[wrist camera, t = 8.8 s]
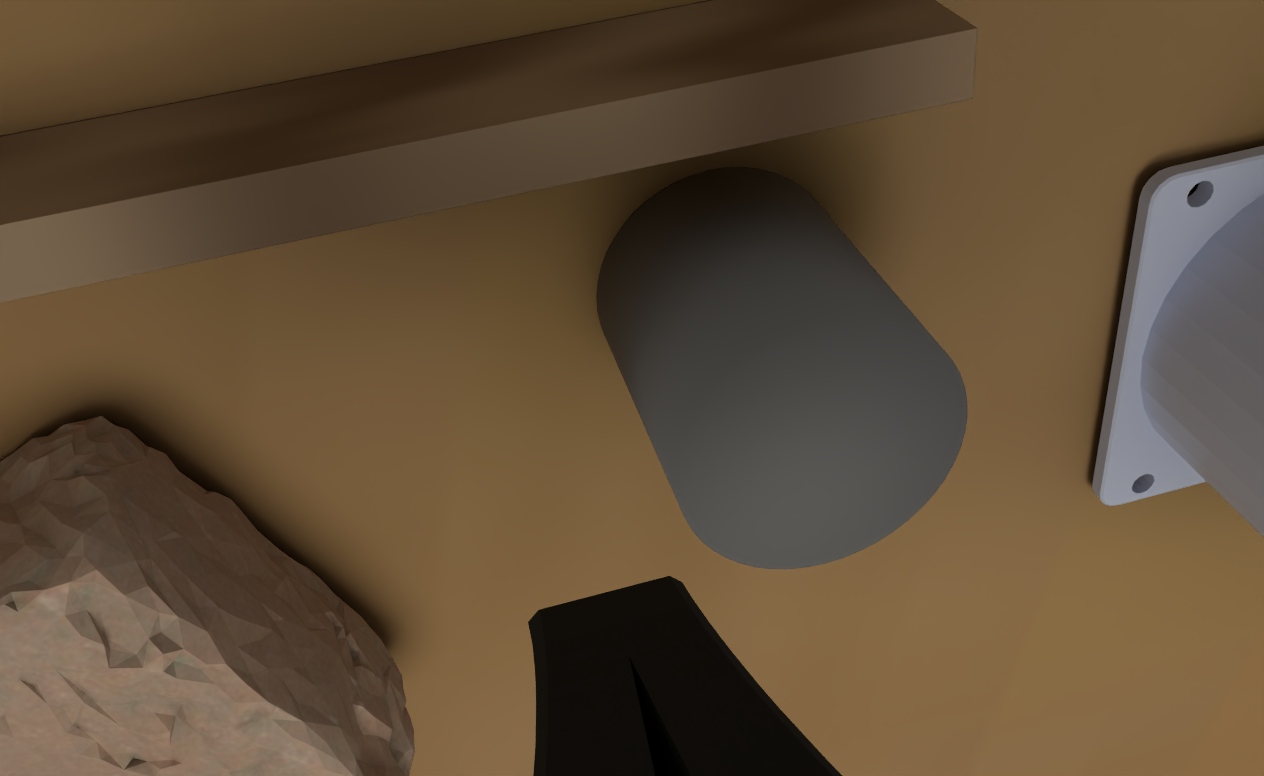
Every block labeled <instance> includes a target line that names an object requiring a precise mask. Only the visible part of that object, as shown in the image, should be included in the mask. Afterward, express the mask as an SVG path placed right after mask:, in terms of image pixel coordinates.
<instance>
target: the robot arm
mask: <svg viewBox="0 0 1264 776" xmlns="http://www.w3.org/2000/svg"><path fill="white" fill-rule="evenodd" d="M1198 183H1199V185H1198V188H1197V190H1196V191H1195V192H1194V193H1193V194H1192V195H1190V196H1188V194H1189V192H1190V190H1191V189H1192V188H1193V187H1194V186H1195V185H1196V184H1198ZM1187 196H1188V197H1187ZM1203 482H1207V483H1208V484H1209V485H1210V486H1211V487H1213V488H1214V489H1215V490H1216V491H1217V492H1218V493H1219V494H1220V495H1221V496H1222V497H1223V498H1224V499H1225V500H1226V501H1227V502H1228V503H1229V504H1230V505H1231V506H1232V507H1233V508H1234V509H1235V510H1236V511H1237V512H1238V513H1239V514H1240V515H1241V516H1242V517H1243V518H1244V519H1245V520H1246V521H1247V522H1248V523H1249V524H1250V525H1251V526H1252V527H1253V528H1254V529H1255V530H1256V531H1257V532H1258V533H1259V534H1261V535H1262V536H1263V537H1264V146H1260V147H1256V148H1251V149H1247V150H1242V151H1238V152H1233V153H1229V154H1224V155H1220V156H1216V157H1211V158H1207V159H1202V160H1198V161H1193V162H1189V163H1184V164H1180V165H1175V166H1171V167H1167V168H1165V169H1163V170H1160V171H1158V172H1157V173H1156V174H1154V175H1153V176H1152V177H1151V178H1150V179H1149V180H1148V181H1147V183H1146V184H1145V185H1144V187H1143V189H1142V192H1141V195H1140V197H1139V203H1138V210H1137V216H1136V222H1135V228H1134V234H1133V240H1132V246H1131V252H1130V258H1129V264H1128V270H1127V276H1126V283H1125V289H1124V295H1123V301H1122V307H1121V313H1120V319H1119V325H1118V331H1117V337H1116V343H1115V350H1114V356H1113V362H1112V368H1111V374H1110V380H1109V386H1108V392H1107V398H1106V404H1105V410H1104V417H1103V423H1102V429H1101V435H1100V441H1099V447H1098V453H1097V459H1096V465H1095V471H1094V477H1093V484H1092V487H1093V492H1094V493H1095V494H1096V495H1097V497H1098V498H1099V499H1100V500H1101V501H1102V502H1103V503H1104V504H1106V505H1109V506H1113V505H1120V504H1124V503H1128V502H1132V501H1135V500H1139V499H1143V498H1147V497H1150V496H1154V495H1158V494H1162V493H1165V492H1169V491H1173V490H1177V489H1180V488H1184V487H1188V486H1192V485H1195V484H1199V483H1203ZM528 623H529V629H530V634H531V639H532V644H533V653H534V664H535V677H536V747H535V762H534V775H533V776H842V775H841V774H840V773H839V772H838V771H837V770H836V769H835V768H834V767H833V766H832V765H831V764H830V763H829V762H828V761H827V760H826V759H825V757H824V756H823V755H822V754H821V753H820V752H819V751H818V750H817V749H816V748H815V747H814V746H813V744H812V743H811V742H810V741H809V740H808V739H807V738H806V737H805V736H804V735H803V734H802V732H801V731H800V730H799V729H798V728H797V727H796V726H795V725H794V724H793V723H792V722H791V721H790V719H789V718H788V717H787V716H786V715H785V714H784V713H783V712H782V711H781V710H780V709H779V707H778V706H777V705H776V704H775V703H774V702H773V701H772V699H771V698H770V697H769V696H768V695H767V694H766V693H765V691H764V690H763V689H762V688H761V687H760V686H759V684H758V683H757V682H756V681H755V680H754V678H753V677H752V676H751V675H750V673H749V672H748V671H747V670H746V669H745V667H744V666H743V665H742V664H741V663H740V661H739V660H738V659H737V658H736V656H735V655H734V654H733V653H732V651H731V650H730V649H729V648H728V646H727V645H726V644H725V642H724V641H723V640H722V639H721V637H720V636H719V635H718V633H717V632H716V631H715V629H714V628H713V627H712V625H711V624H710V623H709V621H708V620H707V619H706V617H705V616H704V614H703V613H702V612H701V610H700V609H699V607H698V606H697V604H696V603H695V602H694V600H693V599H692V597H691V596H690V594H689V592H688V591H687V589H686V588H685V586H684V584H683V583H682V582H681V581H679V580H677V579H675V578H673V577H671V576H667V577H663V578H659V579H656V580H652V581H648V582H644V583H640V584H636V585H633V586H629V587H625V588H621V589H617V590H613V591H610V592H606V593H602V594H598V595H594V596H590V597H587V598H583V599H579V600H575V601H571V602H567V603H564V604H560V605H556V606H552V607H548V608H544V609H541V610H538V611H537V613H536V614H535V615H534V616H533V617H532V618H531V620H530V621H529V622H528Z"/></svg>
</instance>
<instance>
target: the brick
mask: <svg viewBox="0 0 1264 776" xmlns="http://www.w3.org/2000/svg"><path fill="white" fill-rule="evenodd" d="M405 704H406V698H405V694H404V689H403V681H402V675H401V673H400V672H399V670H398V668H397V666H396V664H395V662H394V661H393V659H392V657H391V655H390V654H389V652H388V650H387V649H386V647H385V645H384V644H383V642H382V640H381V639H380V638H379V637H378V636H377V634H376V633H375V632H374V631H373V630H372V629H371V628H370V626H369V625H368V624H367V623H366V622H365V621H364V619H363V618H362V617H361V616H360V615H359V614H358V613H357V612H355V611H354V610H353V609H352V608H351V607H349V606H348V605H347V604H346V603H345V602H344V601H342V600H341V599H340V598H339V597H338V596H336V595H335V594H334V593H333V592H332V591H331V590H330V589H329V587H328V586H327V585H326V584H325V583H324V582H323V581H322V580H321V579H320V578H319V577H318V576H317V575H315V574H314V573H313V572H312V571H311V570H310V569H309V568H307V567H306V566H303V565H301V564H299V563H298V562H296V561H295V560H293V559H292V558H290V557H289V556H287V555H286V554H285V553H283V552H282V551H281V550H279V549H278V548H277V547H276V546H275V545H273V544H272V543H271V542H270V541H269V540H268V539H267V538H265V537H264V536H263V535H262V534H261V533H260V532H258V530H257V529H256V528H255V527H254V526H253V524H252V523H251V522H250V521H249V520H248V518H247V517H246V516H245V515H244V514H243V512H242V511H241V510H240V509H239V508H238V506H237V505H236V504H235V503H234V502H233V501H232V499H229V498H227V497H225V496H223V495H221V494H219V493H217V492H211V491H206V490H205V489H203V488H202V487H200V486H199V485H198V484H196V483H195V482H193V481H192V480H191V479H189V478H188V477H186V476H185V475H183V474H182V473H181V472H179V471H178V470H177V468H176V467H175V466H174V464H173V463H172V461H171V460H170V459H169V457H168V456H167V455H166V454H165V453H163V452H160V451H158V450H156V449H153V448H151V447H148V446H146V445H145V444H144V443H143V442H142V441H141V440H139V439H138V438H137V437H136V436H135V435H134V434H133V433H132V432H131V431H130V430H128V429H125V428H122V427H119V426H116V425H113V424H112V423H110V422H109V421H108V420H106V419H105V418H104V417H102V416H99V417H96V418H92V419H88V420H84V421H79V422H74V423H69V424H64V425H63V426H61V427H60V428H59V429H57V430H56V431H55V432H53V433H52V434H50V435H49V436H46V437H38V438H32V439H31V440H30V441H28V442H27V443H26V444H24V445H23V446H22V447H20V448H19V449H18V450H16V451H15V452H14V453H12V454H11V455H10V456H8V457H7V458H5V459H4V460H2V461H1V462H0V776H409V773H410V769H411V765H412V761H413V757H414V753H415V747H414V729H413V726H412V722H411V719H410V716H409V714H408V712H407V709H406V707H405Z"/></svg>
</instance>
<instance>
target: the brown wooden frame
mask: <svg viewBox="0 0 1264 776" xmlns="http://www.w3.org/2000/svg"><path fill="white" fill-rule="evenodd" d="M976 42H977V28H976V27H975V26H973V25H972V24H970V23H969V22H967V21H966V20H964V19H963V18H961V17H960V16H958V15H957V14H955V13H954V12H952V11H950V10H949V9H947V8H946V7H944V6H943V5H941V4H940V3H938V2H937V1H935V0H711V1H706V2H701V3H696V4H691V5H685V6H680V7H675V8H670V9H664V10H659V11H654V12H649V13H644V14H638V15H633V16H628V17H623V18H617V19H612V20H607V21H602V22H597V23H591V24H586V25H581V26H576V27H571V28H565V29H560V30H555V31H550V32H544V33H539V34H534V35H529V36H524V37H518V38H513V39H508V40H503V41H497V42H492V43H487V44H482V45H477V46H471V47H466V48H461V49H456V50H450V51H445V52H440V53H435V54H430V55H424V56H419V57H414V58H409V59H403V60H398V61H393V62H388V63H383V64H377V65H372V66H367V67H362V68H356V69H351V70H346V71H341V72H336V73H330V74H325V75H320V76H315V77H309V78H304V79H299V80H294V81H289V82H283V83H278V84H273V85H268V86H262V87H257V88H252V89H247V90H242V91H236V92H231V93H226V94H221V95H215V96H210V97H205V98H200V99H195V100H189V101H184V102H179V103H174V104H168V105H163V106H158V107H153V108H148V109H142V110H137V111H132V112H127V113H122V114H116V115H111V116H106V117H101V118H95V119H90V120H85V121H80V122H75V123H69V124H64V125H59V126H54V127H48V128H43V129H38V130H33V131H28V132H22V133H17V134H12V135H7V136H1V137H0V303H2V302H7V301H12V300H17V299H21V298H26V297H31V296H36V295H41V294H45V293H50V292H55V291H60V290H64V289H69V288H74V287H79V286H83V285H88V284H93V283H98V282H102V281H107V280H112V279H117V278H121V277H126V276H131V275H136V274H140V273H145V272H150V271H155V270H159V269H164V268H169V267H174V266H178V265H183V264H188V263H193V262H197V261H202V260H207V259H212V258H216V257H221V256H226V255H231V254H235V253H240V252H245V251H250V250H255V249H259V248H264V247H269V246H274V245H278V244H283V243H288V242H293V241H297V240H302V239H307V238H312V237H316V236H321V235H326V234H331V233H335V232H340V231H345V230H350V229H354V228H359V227H364V226H369V225H373V224H378V223H383V222H388V221H392V220H397V219H402V218H407V217H411V216H416V215H421V214H426V213H430V212H435V211H440V210H445V209H449V208H454V207H459V206H464V205H469V204H473V203H478V202H483V201H488V200H492V199H497V198H502V197H507V196H511V195H516V194H521V193H526V192H530V191H535V190H540V189H545V188H549V187H554V186H559V185H564V184H568V183H573V182H578V181H583V180H587V179H592V178H597V177H602V176H606V175H611V174H616V173H621V172H625V171H630V170H635V169H640V168H644V167H649V166H654V165H659V164H664V163H668V162H673V161H678V160H683V159H687V158H692V157H697V156H702V155H706V154H711V153H716V152H721V151H725V150H730V149H735V148H740V147H744V146H749V145H754V144H759V143H763V142H768V141H773V140H778V139H782V138H787V137H792V136H797V135H801V134H806V133H811V132H816V131H820V130H825V129H830V128H835V127H839V126H844V125H849V124H854V123H858V122H863V121H868V120H873V119H878V118H882V117H887V116H892V115H897V114H901V113H906V112H911V111H916V110H920V109H925V108H930V107H935V106H939V105H944V104H949V103H954V102H958V101H963V100H968V99H973V86H974V71H975V57H976Z"/></svg>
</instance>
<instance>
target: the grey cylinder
mask: <svg viewBox="0 0 1264 776" xmlns="http://www.w3.org/2000/svg"><path fill="white" fill-rule="evenodd" d="M597 311H598V315H599V320H600V324H601V327H602V330H603V332H604V335H605V337H606V339H607V342H608V344H609V346H610V349H611V351H612V353H613V355H614V358H615V360H616V362H617V364H618V367H619V369H620V371H621V374H622V376H623V378H624V380H625V383H626V385H627V387H628V390H629V392H630V394H631V396H632V399H633V401H634V403H635V406H636V408H637V410H638V412H639V415H640V417H641V419H642V421H643V424H644V426H645V428H646V431H647V433H648V435H649V437H650V440H651V442H652V444H653V447H654V449H655V451H656V453H657V456H658V458H659V460H660V463H661V465H662V467H663V469H664V472H665V474H666V476H667V478H668V481H669V483H670V485H671V488H672V490H673V492H674V494H675V497H676V499H677V501H678V504H679V506H680V508H681V510H682V513H683V515H684V517H685V519H686V521H687V523H688V524H689V526H690V527H691V529H692V531H693V532H694V533H695V534H696V535H697V536H698V537H699V539H700V540H701V541H702V542H703V543H704V544H706V545H707V546H708V547H710V548H711V549H712V550H713V551H715V552H717V553H718V554H720V555H722V556H724V557H726V558H728V559H730V560H733V561H736V562H738V563H741V564H745V565H749V566H753V567H758V568H768V569H795V568H804V567H811V566H815V565H820V564H825V563H828V562H831V561H835V560H838V559H841V558H844V557H846V556H849V555H851V554H854V553H856V552H858V551H861V550H863V549H865V548H867V547H868V546H870V545H872V544H874V543H876V542H878V541H879V540H881V539H883V538H884V537H886V536H887V535H889V534H890V533H892V532H893V531H895V530H896V529H897V528H899V527H900V526H901V525H903V524H904V523H905V522H906V521H908V520H909V519H910V518H911V517H912V516H913V515H914V514H915V513H916V512H918V511H919V510H920V509H921V508H922V507H923V506H924V505H925V503H926V502H927V501H928V500H929V499H930V498H931V497H932V496H933V495H934V493H935V492H936V491H937V489H938V488H939V486H940V485H941V484H942V482H943V481H944V480H945V478H946V476H947V474H948V473H949V471H950V469H951V468H952V466H953V464H954V462H955V459H956V457H957V455H958V453H959V450H960V448H961V444H962V441H963V438H964V434H965V429H966V422H967V398H966V392H965V386H964V384H963V381H962V378H961V375H960V373H959V371H958V369H957V367H956V366H955V364H954V362H953V360H952V359H951V358H950V357H949V356H948V354H947V353H946V352H945V351H944V350H943V349H942V347H941V346H940V345H939V344H938V343H937V342H936V340H935V339H934V338H933V337H932V336H931V335H930V333H929V332H928V331H927V330H926V329H925V328H924V326H923V325H922V324H921V323H920V322H919V321H918V319H917V318H916V317H915V316H914V315H913V314H912V312H911V311H910V310H909V309H908V308H907V307H906V305H905V304H904V303H903V302H902V301H901V300H900V298H899V297H898V296H897V295H896V294H895V293H894V291H893V290H892V289H891V288H890V287H889V286H888V285H887V283H886V282H885V281H884V280H883V279H882V278H881V276H880V275H879V274H878V273H877V272H876V271H875V269H874V268H873V267H872V266H871V265H870V264H869V262H868V261H867V260H866V259H865V258H864V257H863V255H862V254H861V253H860V252H859V251H858V250H857V248H856V247H855V246H854V245H853V244H852V243H851V241H850V240H849V239H848V238H847V237H846V236H845V234H844V233H843V232H842V231H841V230H840V229H839V227H838V226H837V225H836V224H835V223H834V222H833V220H832V219H831V218H830V217H829V216H828V215H827V213H826V212H825V211H824V210H823V209H822V208H821V206H820V205H819V204H818V203H817V202H816V201H815V199H814V198H813V197H812V196H811V195H810V194H809V193H808V192H807V191H805V190H804V189H803V188H802V187H801V186H799V185H798V184H796V183H794V182H793V181H791V180H789V179H788V178H785V177H783V176H781V175H778V174H776V173H773V172H769V171H765V170H761V169H755V168H745V167H733V168H721V169H714V170H709V171H705V172H702V173H698V174H694V175H692V176H689V177H687V178H684V179H682V180H679V181H677V182H675V183H673V184H672V185H670V186H668V187H666V188H664V189H663V190H661V191H660V192H658V193H657V194H655V195H654V196H653V197H651V198H650V199H648V200H647V201H646V202H645V203H644V204H643V205H642V206H640V207H639V208H638V209H637V210H636V211H635V212H634V213H633V214H632V215H631V216H630V218H629V219H628V220H627V221H626V222H625V223H624V224H623V226H622V227H621V229H620V230H619V232H618V233H617V235H616V236H615V237H614V239H613V241H612V243H611V245H610V247H609V249H608V251H607V253H606V255H605V258H604V261H603V263H602V266H601V270H600V274H599V279H598V285H597Z"/></svg>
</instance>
